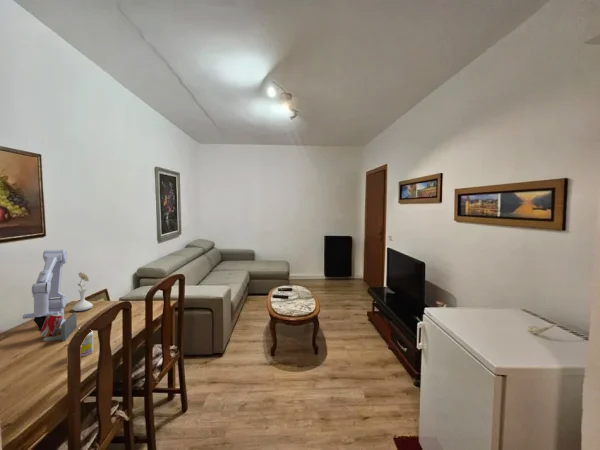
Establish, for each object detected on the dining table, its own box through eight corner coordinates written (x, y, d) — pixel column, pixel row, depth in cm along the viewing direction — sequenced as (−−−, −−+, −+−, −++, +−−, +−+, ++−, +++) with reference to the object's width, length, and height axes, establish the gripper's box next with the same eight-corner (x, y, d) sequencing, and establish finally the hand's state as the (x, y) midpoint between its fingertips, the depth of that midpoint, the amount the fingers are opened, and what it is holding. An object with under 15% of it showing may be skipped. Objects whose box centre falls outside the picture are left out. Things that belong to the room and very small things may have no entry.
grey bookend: (55, 329, 161) (55, 314, 160) (76, 327, 164) (76, 312, 164) (41, 343, 144) (41, 326, 144) (65, 340, 148) (64, 324, 147)
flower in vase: (94, 309, 193) (94, 273, 192) (73, 313, 185) (73, 275, 183) (89, 304, 202) (89, 270, 200) (69, 308, 193) (69, 272, 192)
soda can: (45, 339, 147) (54, 317, 148) (35, 333, 149) (44, 312, 150) (59, 336, 154) (67, 315, 155) (49, 330, 156) (58, 309, 157)
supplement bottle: (80, 350, 139) (80, 324, 138) (95, 349, 140) (95, 323, 140) (73, 357, 132) (72, 330, 132) (89, 356, 134) (89, 329, 133)
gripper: (19, 308, 143) (19, 335, 144) (55, 306, 149) (55, 331, 149) (26, 304, 150) (26, 330, 150) (60, 302, 156) (60, 326, 156)
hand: (41, 330), depth 150 cm, fingers closed, pressing on soda can
